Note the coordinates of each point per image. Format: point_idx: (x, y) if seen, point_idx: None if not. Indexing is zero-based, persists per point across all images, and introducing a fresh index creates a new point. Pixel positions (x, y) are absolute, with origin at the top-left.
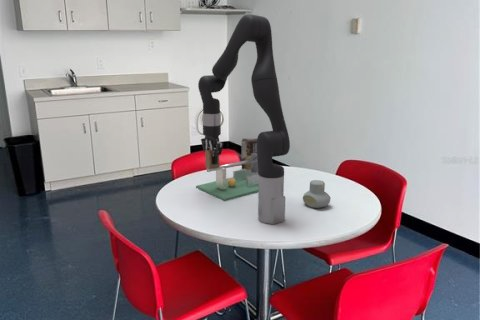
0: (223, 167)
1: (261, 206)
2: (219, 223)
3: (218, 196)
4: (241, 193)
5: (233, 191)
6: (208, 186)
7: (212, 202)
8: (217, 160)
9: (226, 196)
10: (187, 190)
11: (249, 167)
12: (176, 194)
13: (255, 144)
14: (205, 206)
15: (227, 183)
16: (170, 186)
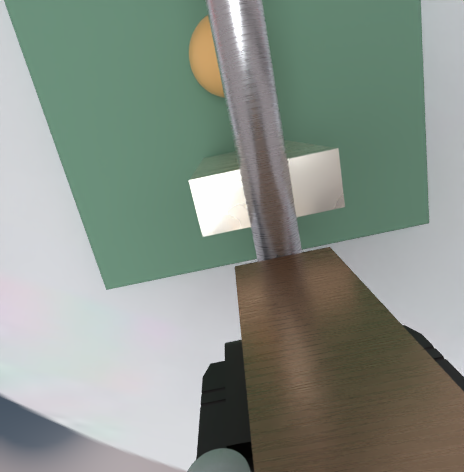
0: (288, 166)
1: None
2: None
3: (361, 236)
4: (406, 68)
5: (336, 104)
6: (153, 222)
7: (396, 287)
8: (437, 354)
9: (398, 195)
10: (139, 340)
11: None
12: (181, 404)
13: None
14: (426, 337)
15: (221, 96)
16: (31, 397)
